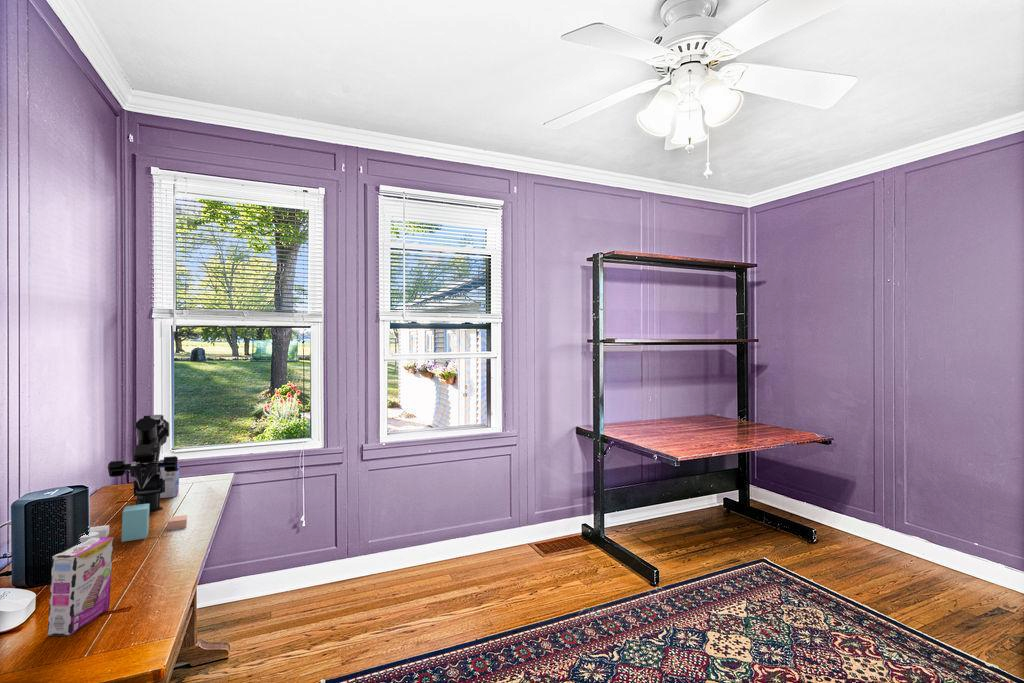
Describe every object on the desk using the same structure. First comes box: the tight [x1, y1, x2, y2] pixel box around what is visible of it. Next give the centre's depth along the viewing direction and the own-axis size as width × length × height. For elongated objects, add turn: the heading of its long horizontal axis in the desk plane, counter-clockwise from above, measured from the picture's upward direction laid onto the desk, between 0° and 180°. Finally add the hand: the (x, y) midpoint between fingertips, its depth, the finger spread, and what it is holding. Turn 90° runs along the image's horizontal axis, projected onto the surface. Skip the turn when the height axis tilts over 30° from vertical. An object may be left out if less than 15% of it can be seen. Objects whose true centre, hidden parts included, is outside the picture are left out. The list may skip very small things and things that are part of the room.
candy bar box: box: [47, 536, 114, 637], centre depth 107 cm, size 11×5×16 cm, turn 5°
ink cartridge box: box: [159, 459, 181, 499], centre depth 197 cm, size 10×6×14 cm, turn 112°
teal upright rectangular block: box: [121, 503, 150, 543], centre depth 151 cm, size 6×6×9 cm
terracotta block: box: [166, 514, 188, 531], centre depth 161 cm, size 5×5×4 cm
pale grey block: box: [90, 524, 110, 537], centre depth 150 cm, size 5×5×4 cm
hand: (141, 488), depth 160 cm, fingers closed
